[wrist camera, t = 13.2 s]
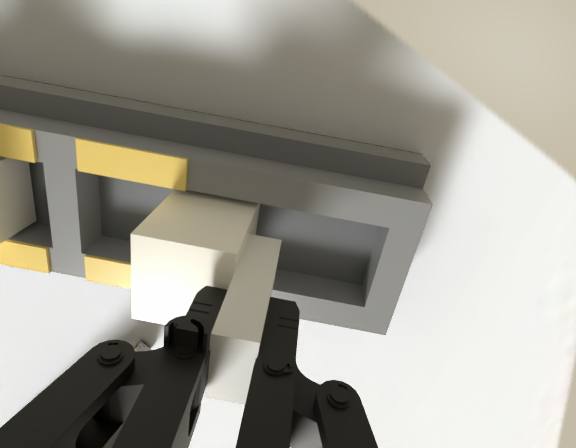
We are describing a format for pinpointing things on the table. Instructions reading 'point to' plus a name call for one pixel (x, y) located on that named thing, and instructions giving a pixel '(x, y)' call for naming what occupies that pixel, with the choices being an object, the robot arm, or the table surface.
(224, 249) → the tab
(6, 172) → the tab
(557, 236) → the table surface
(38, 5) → the table surface
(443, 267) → the table surface
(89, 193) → the switch board
